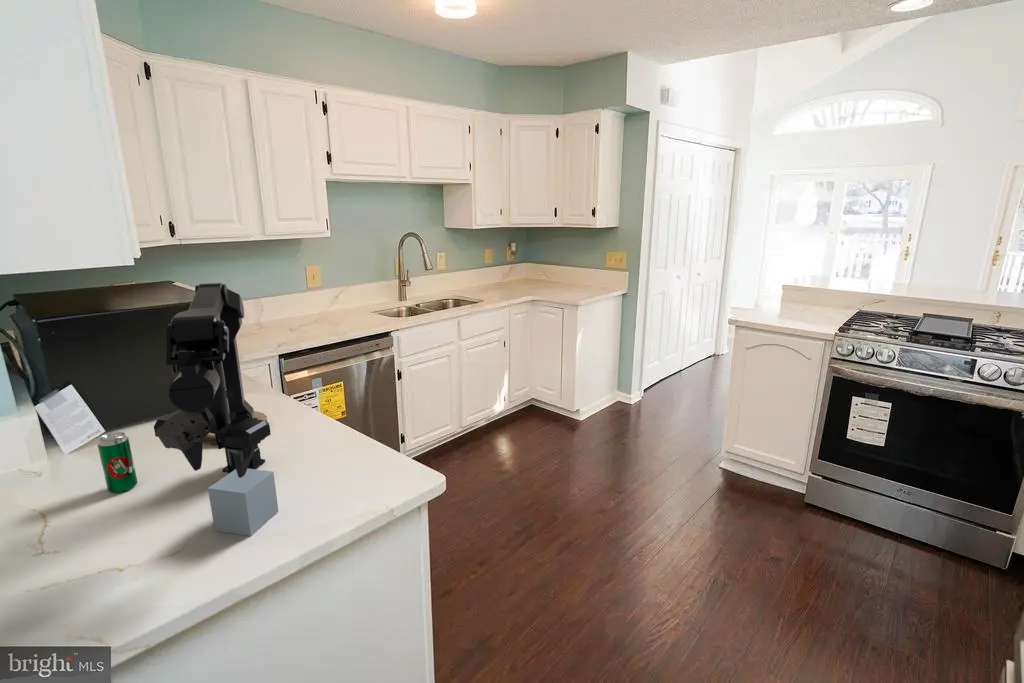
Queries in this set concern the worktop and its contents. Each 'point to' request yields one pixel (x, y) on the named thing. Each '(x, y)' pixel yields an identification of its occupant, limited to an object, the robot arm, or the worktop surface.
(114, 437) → the soda can
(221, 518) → the matte gray cuboid
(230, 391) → the robot arm
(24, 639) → the worktop surface
